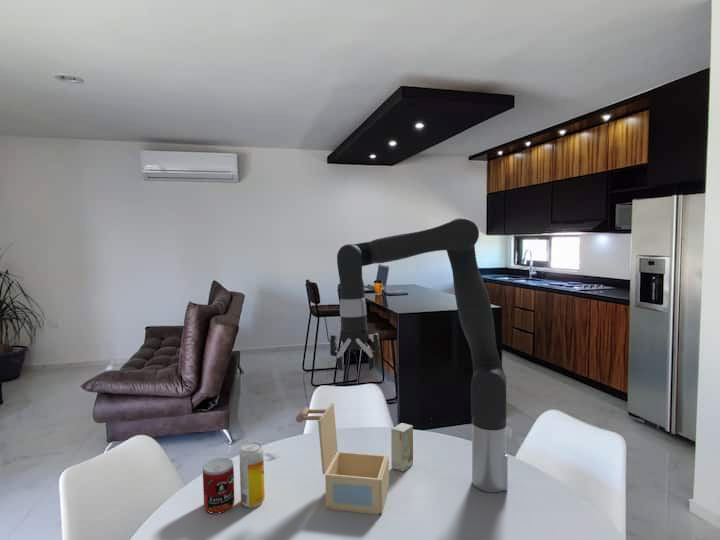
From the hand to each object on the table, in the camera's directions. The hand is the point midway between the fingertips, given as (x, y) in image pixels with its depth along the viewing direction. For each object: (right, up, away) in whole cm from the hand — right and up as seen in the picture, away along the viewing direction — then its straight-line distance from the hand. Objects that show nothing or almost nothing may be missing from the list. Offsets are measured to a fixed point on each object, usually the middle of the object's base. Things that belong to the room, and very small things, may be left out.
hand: (356, 369), depth 126 cm
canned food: (-36, -33, -11) cm, 50 cm away
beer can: (-27, -33, -10) cm, 44 cm away
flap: (-7, -16, -8) cm, 19 cm away
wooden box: (+1, -32, -9) cm, 33 cm away
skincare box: (+14, -32, +8) cm, 35 cm away
